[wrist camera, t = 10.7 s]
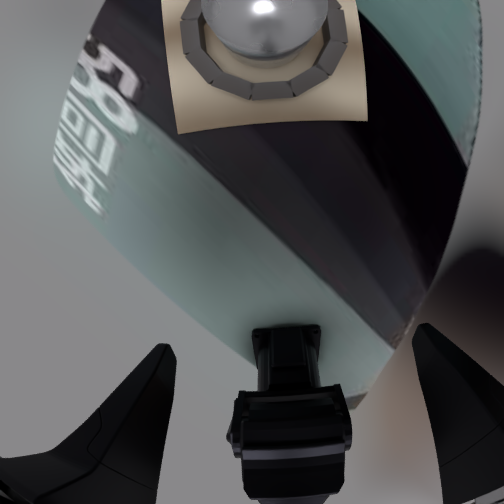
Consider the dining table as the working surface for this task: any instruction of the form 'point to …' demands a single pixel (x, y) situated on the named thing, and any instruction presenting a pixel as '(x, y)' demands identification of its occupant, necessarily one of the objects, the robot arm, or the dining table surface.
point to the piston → (264, 28)
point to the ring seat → (263, 74)
